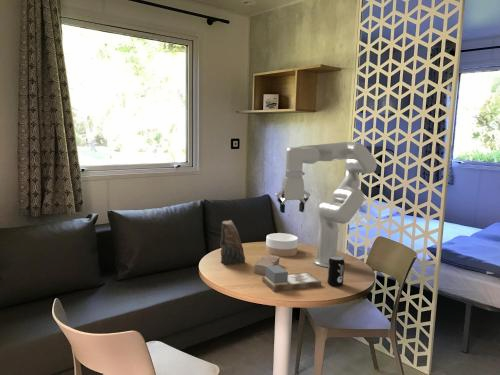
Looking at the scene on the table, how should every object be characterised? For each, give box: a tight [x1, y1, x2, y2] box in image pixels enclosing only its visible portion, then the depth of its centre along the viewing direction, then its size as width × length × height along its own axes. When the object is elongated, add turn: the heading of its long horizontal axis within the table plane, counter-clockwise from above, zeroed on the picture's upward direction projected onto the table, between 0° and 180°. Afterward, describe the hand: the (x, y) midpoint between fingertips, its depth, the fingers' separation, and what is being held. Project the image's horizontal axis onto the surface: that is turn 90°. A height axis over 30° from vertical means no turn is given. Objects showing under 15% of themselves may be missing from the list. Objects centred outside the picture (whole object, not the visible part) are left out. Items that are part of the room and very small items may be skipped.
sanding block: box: [264, 265, 289, 285], centre depth 165 cm, size 6×9×5 cm, turn 21°
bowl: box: [265, 232, 299, 257], centre depth 215 cm, size 17×17×8 cm
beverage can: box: [327, 255, 345, 288], centre depth 168 cm, size 7×7×12 cm
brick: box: [253, 254, 281, 276], centre depth 186 cm, size 16×8×5 cm, turn 161°
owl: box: [219, 219, 246, 266], centre depth 195 cm, size 13×13×20 cm
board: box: [261, 271, 322, 293], centre depth 168 cm, size 22×12×2 cm, turn 111°
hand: (291, 212), depth 179 cm, fingers open, 9 cm apart
